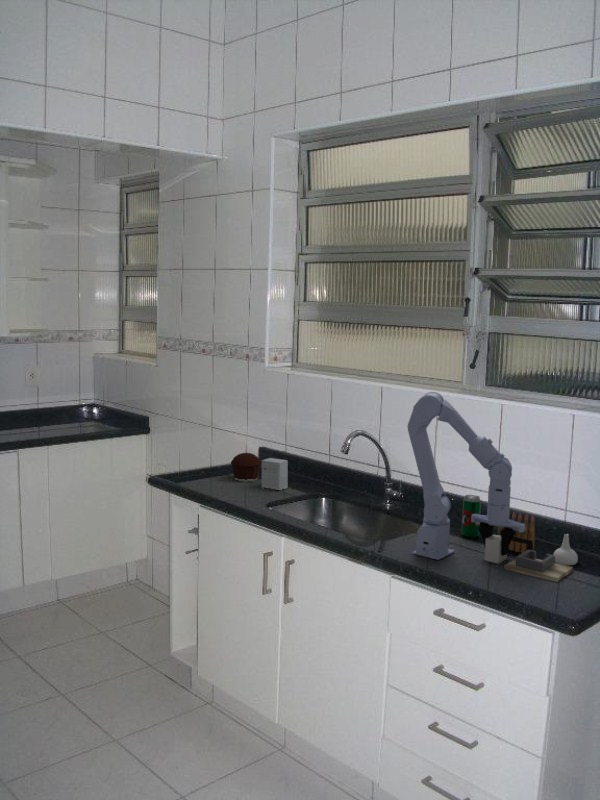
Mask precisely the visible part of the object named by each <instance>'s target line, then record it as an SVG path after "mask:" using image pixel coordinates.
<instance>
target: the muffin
mask: <svg viewBox="0 0 600 800" xmlns="http://www.w3.org/2000/svg"><path fill="white" fill-rule="evenodd" d="M260 459H261V458H259V456H257V455H255V454H254V453H251V452H242V453H238V454H236V455H235V456H234V457H233V458H232V460H231V462H230V465H232V470H233V471H232V473H233V478H234V477H235V478H238V479H245V480H247V479H256V478H257V479H258V478H259V477H258V476H259V471H260V466H261V465H262V460H260Z"/></svg>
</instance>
